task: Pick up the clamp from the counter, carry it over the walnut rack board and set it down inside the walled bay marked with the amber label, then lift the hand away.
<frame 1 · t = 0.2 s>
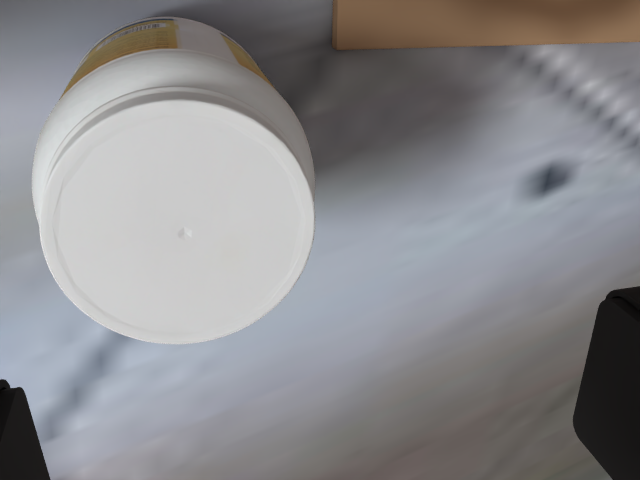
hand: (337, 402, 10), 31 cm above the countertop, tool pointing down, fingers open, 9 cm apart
supplement tub: (174, 116, 38), on the countertop
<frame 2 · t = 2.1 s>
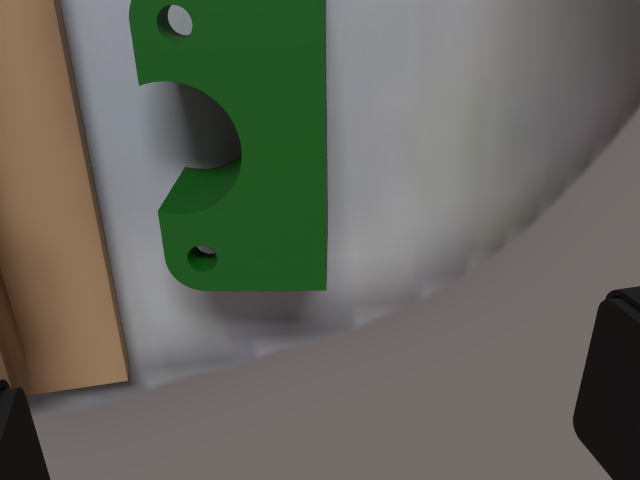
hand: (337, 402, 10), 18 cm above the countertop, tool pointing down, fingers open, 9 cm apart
clamp: (239, 108, 25), on the countertop
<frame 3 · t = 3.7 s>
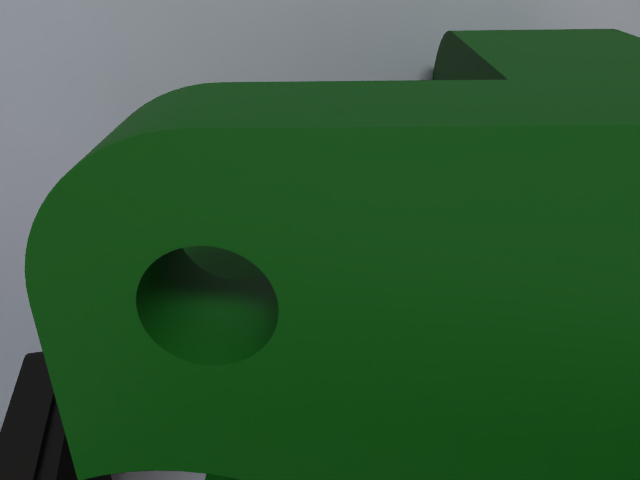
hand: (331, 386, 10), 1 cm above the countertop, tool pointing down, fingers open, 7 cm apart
clamp: (331, 334, 11), on the countertop, touching gripper
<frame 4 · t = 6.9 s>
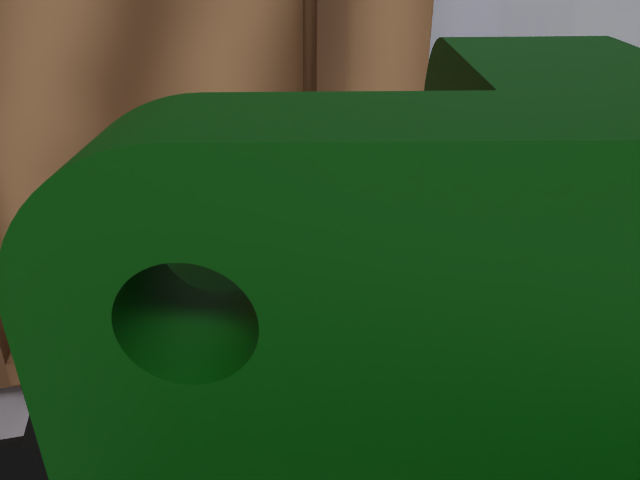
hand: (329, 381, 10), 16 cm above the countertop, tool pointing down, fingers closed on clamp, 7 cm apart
clamp: (323, 342, 11), point 15 cm above the countertop, touching gripper
rack board: (146, 122, 24), on the countertop
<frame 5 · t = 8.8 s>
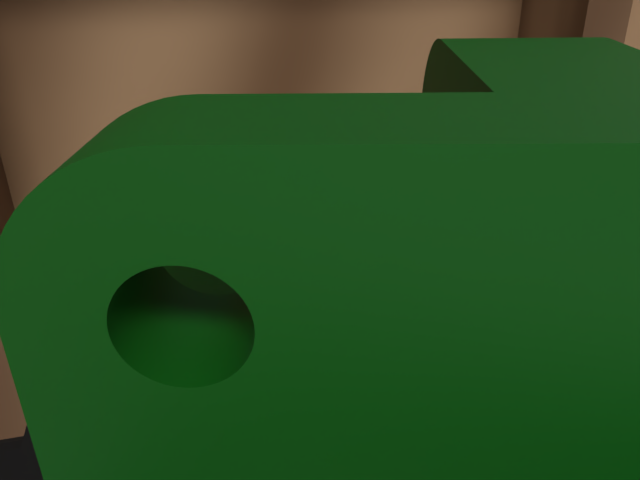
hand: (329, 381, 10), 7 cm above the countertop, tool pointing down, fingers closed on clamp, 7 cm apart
clamp: (321, 344, 11), point 6 cm above the countertop, touching gripper
rack board: (271, 209, 17), on the countertop
when the fingers open (4 cm above the countertop, at t = 10.0 s): clamp drops 2 cm, resting on rack board.
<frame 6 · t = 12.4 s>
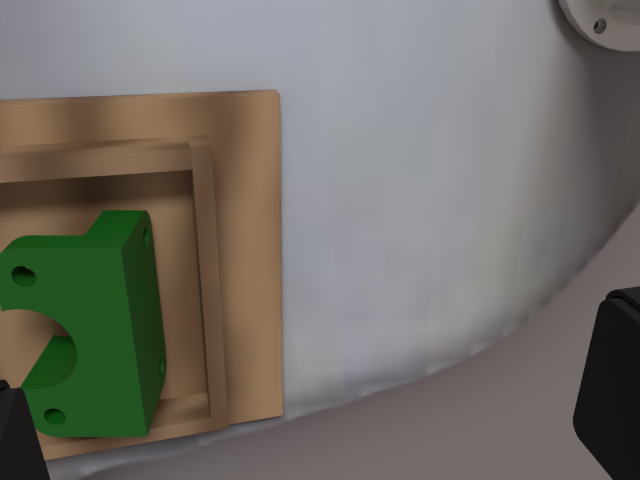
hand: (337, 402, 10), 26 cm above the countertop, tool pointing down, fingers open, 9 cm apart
clamp: (93, 293, 35), point 1 cm above the countertop, touching rack board
rack board: (92, 286, 35), on the countertop
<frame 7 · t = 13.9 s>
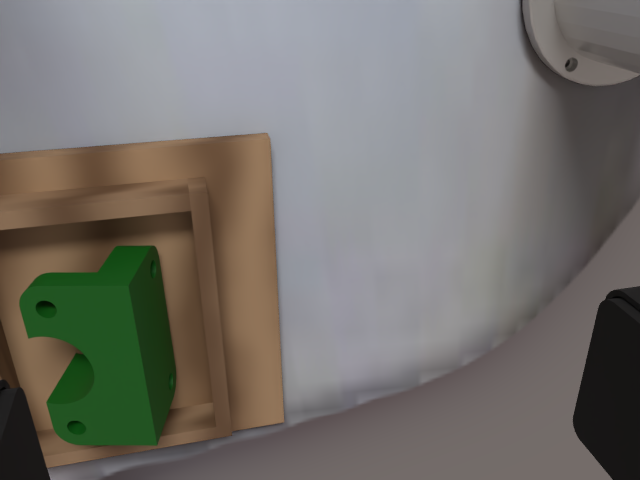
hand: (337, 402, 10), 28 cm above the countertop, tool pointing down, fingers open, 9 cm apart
clamp: (110, 316, 39), point 1 cm above the countertop, touching rack board
rack board: (108, 310, 40), on the countertop
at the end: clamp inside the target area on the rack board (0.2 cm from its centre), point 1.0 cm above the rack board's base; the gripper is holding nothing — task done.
